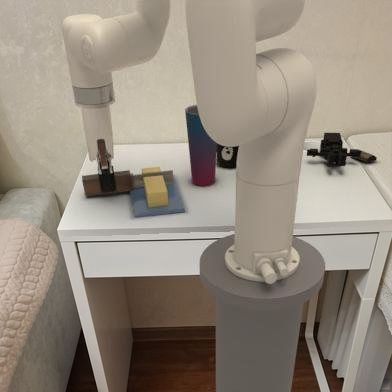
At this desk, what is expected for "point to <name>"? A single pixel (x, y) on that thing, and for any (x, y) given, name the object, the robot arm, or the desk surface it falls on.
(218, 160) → the beverage can
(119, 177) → the knife
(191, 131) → the cup
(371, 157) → the block
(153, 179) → the butter bar
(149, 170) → the butter pat
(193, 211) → the desk surface
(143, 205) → the butter plate
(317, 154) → the toy
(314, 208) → the desk surface
